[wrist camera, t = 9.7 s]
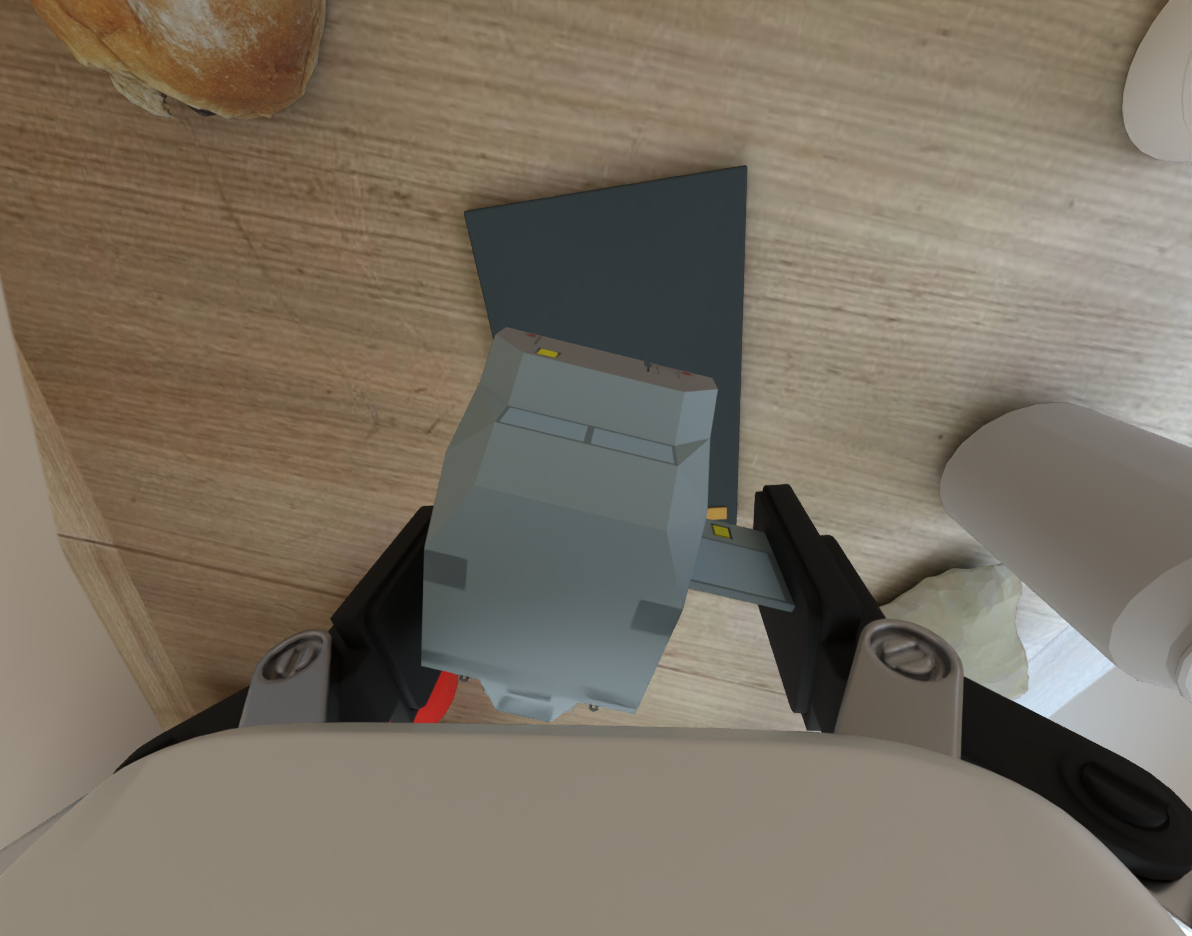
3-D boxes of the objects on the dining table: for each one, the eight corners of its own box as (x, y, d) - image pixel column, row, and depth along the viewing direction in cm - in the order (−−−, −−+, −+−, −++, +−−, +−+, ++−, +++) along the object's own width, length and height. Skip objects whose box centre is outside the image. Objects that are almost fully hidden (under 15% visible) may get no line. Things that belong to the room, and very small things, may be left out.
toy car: (483, 614, 15) (418, 771, 10) (522, 316, 10) (428, 379, 5) (666, 656, 15) (675, 829, 10) (793, 383, 10) (909, 496, 6)
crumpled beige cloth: (954, 731, 32) (1096, 577, 25) (980, 780, 29) (1150, 621, 22) (783, 679, 33) (871, 521, 26) (790, 720, 30) (893, 554, 23)
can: (945, 540, 25) (1164, 758, 15) (914, 438, 22) (1158, 616, 12) (1100, 489, 23) (1496, 705, 12) (1088, 368, 20) (1584, 513, 9)
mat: (743, 167, 18) (748, 164, 17) (734, 523, 26) (736, 532, 25) (469, 212, 19) (461, 211, 18) (542, 532, 28) (539, 541, 27)
